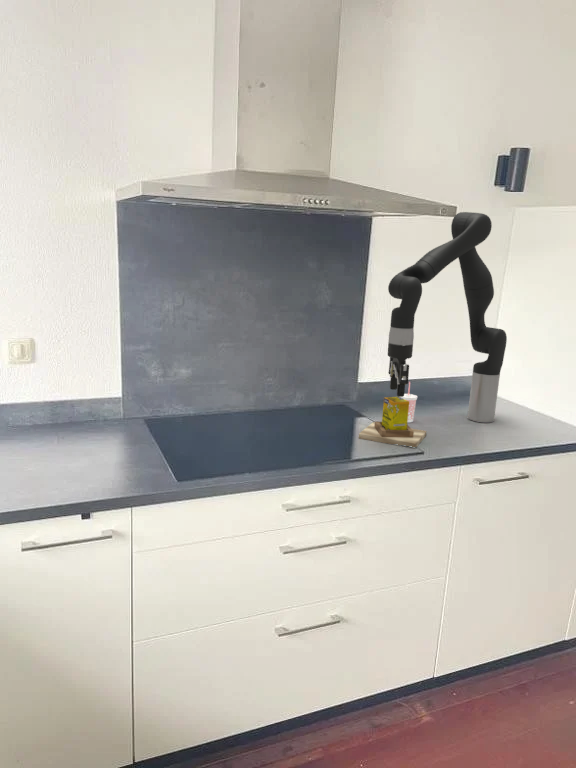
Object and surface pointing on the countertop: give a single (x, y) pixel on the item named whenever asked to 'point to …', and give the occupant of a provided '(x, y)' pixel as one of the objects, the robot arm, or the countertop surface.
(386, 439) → the socket board
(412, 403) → the beverage cup
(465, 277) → the robot arm
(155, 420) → the countertop surface
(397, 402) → the supplement box
